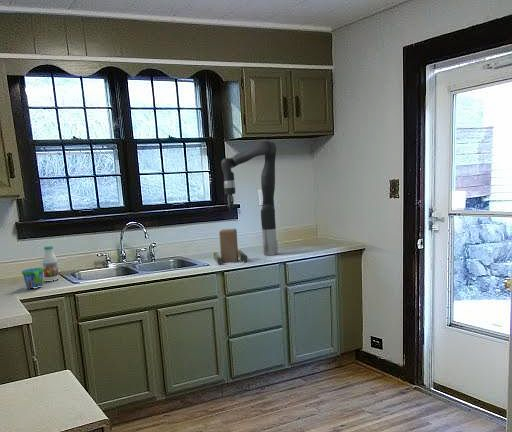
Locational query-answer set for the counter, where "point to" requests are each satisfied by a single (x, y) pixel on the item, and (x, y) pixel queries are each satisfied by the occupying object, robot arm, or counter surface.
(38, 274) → the snack cup
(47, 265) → the milk bottle
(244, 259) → the lane
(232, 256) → the block
